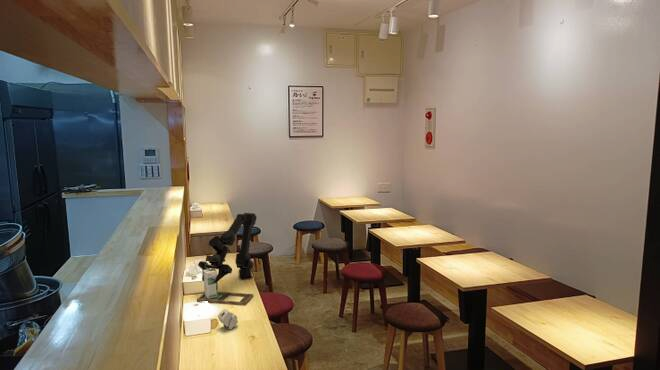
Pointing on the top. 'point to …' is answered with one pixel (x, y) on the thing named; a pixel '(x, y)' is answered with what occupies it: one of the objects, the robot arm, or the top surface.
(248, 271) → the robot arm
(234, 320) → the grey lumpy piece
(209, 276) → the syrup box
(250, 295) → the brown rectangular tray
